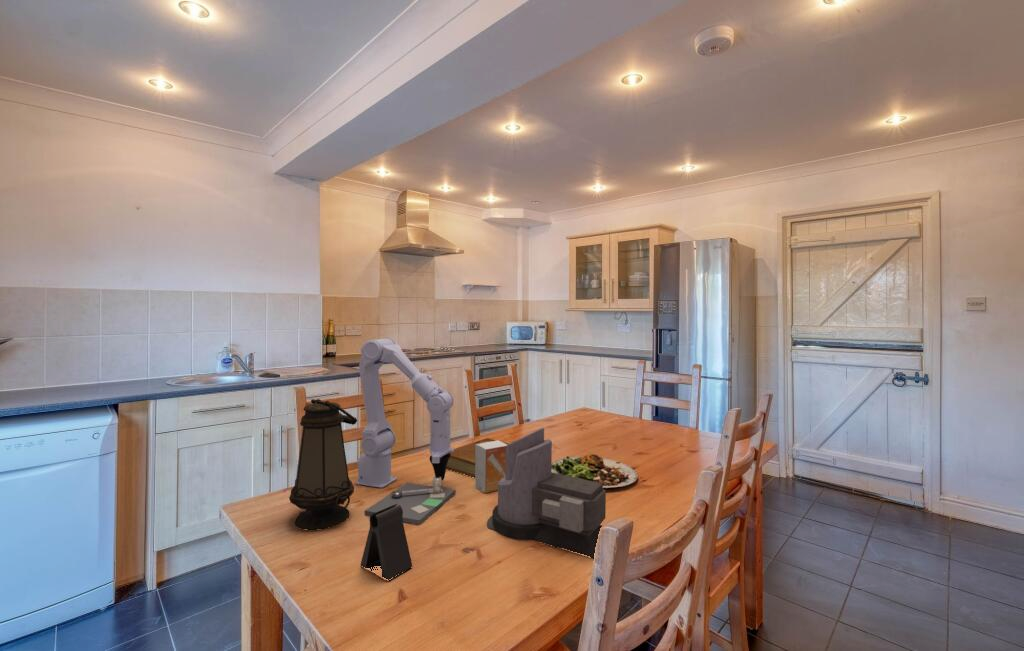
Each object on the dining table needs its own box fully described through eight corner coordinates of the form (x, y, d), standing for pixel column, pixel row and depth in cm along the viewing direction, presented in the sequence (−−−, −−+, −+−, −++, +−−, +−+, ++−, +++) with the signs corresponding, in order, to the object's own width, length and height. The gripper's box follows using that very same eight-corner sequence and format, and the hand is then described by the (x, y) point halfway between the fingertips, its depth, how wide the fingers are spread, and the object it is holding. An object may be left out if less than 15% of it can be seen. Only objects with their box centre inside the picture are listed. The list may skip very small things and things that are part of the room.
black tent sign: (360, 566, 90) (360, 508, 90) (384, 553, 95) (384, 498, 95) (388, 582, 85) (388, 521, 84) (412, 568, 90) (412, 510, 89)
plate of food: (537, 484, 135) (537, 465, 134) (561, 457, 160) (562, 440, 160) (631, 503, 124) (632, 482, 124) (641, 470, 150) (642, 452, 150)
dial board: (364, 515, 113) (364, 510, 113) (407, 486, 132) (407, 482, 132) (420, 525, 108) (420, 520, 108) (456, 494, 127) (456, 489, 127)
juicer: (474, 527, 107) (475, 427, 107) (509, 503, 121) (510, 415, 120) (591, 564, 91) (592, 448, 91) (616, 532, 105) (617, 430, 105)
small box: (485, 494, 127) (485, 449, 127) (474, 486, 132) (474, 443, 132) (508, 488, 131) (509, 444, 131) (497, 481, 137) (497, 439, 136)
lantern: (272, 520, 110) (271, 400, 109) (327, 499, 123) (327, 391, 122) (315, 541, 100) (314, 409, 99) (370, 516, 112) (370, 399, 112)
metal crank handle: (391, 498, 120) (391, 483, 120) (391, 494, 122) (391, 480, 122) (443, 493, 124) (443, 478, 124) (441, 489, 126) (441, 475, 126)
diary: (485, 452, 167) (485, 437, 167) (525, 463, 155) (525, 447, 155) (440, 468, 149) (440, 451, 149) (481, 482, 137) (481, 463, 137)
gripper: (450, 440, 121) (449, 489, 122) (457, 427, 136) (457, 471, 136) (424, 440, 122) (424, 489, 122) (434, 427, 136) (434, 470, 136)
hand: (440, 479), depth 129 cm, fingers closed
